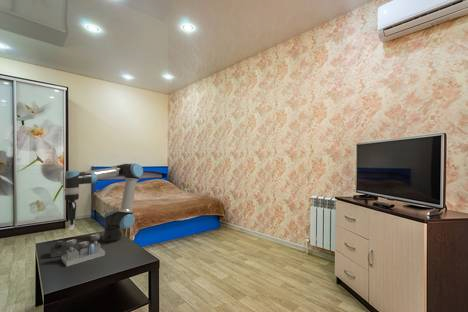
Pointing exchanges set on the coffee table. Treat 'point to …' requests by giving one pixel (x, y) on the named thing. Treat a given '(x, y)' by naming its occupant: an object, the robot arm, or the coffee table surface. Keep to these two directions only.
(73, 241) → the knob
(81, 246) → the knob mid
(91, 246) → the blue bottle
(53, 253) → the camera
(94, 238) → the knob
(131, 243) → the coffee table surface
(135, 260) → the coffee table surface
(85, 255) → the knob panel
